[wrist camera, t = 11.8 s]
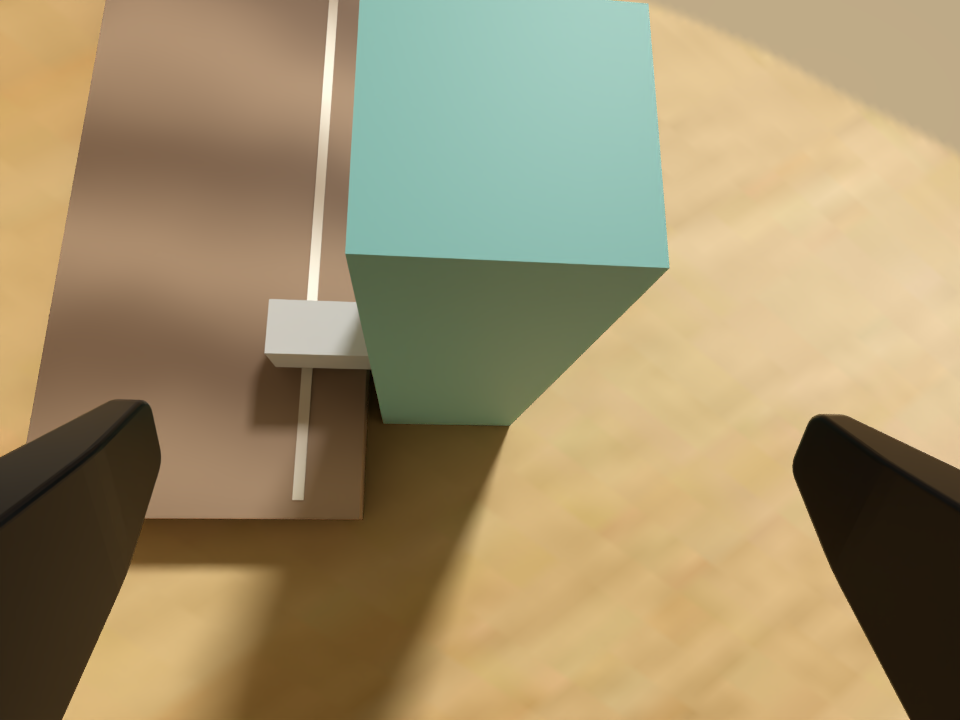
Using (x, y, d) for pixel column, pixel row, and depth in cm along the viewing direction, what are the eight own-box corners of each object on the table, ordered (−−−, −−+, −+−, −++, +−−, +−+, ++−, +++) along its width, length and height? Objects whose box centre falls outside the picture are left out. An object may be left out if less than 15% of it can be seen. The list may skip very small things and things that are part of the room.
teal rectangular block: (509, 425, 21) (668, 268, 8) (285, 421, 20) (77, 241, 7) (508, 307, 22) (648, 3, 9) (294, 299, 21) (126, -42, 8)
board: (362, 519, 19) (359, 519, 18) (43, 518, 18) (11, 517, 17) (388, -25, 24) (387, -61, 23) (138, -48, 23) (120, -87, 22)
